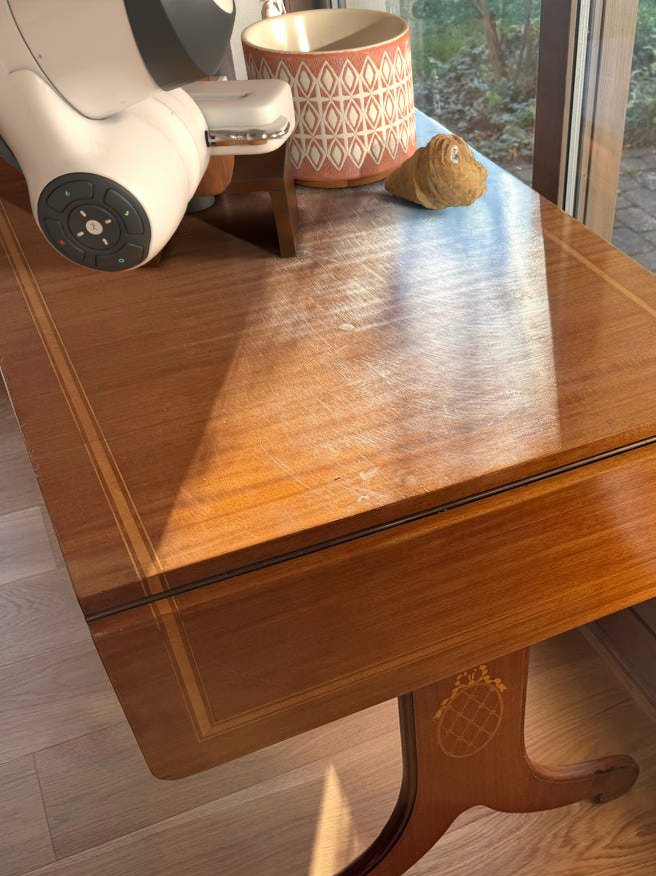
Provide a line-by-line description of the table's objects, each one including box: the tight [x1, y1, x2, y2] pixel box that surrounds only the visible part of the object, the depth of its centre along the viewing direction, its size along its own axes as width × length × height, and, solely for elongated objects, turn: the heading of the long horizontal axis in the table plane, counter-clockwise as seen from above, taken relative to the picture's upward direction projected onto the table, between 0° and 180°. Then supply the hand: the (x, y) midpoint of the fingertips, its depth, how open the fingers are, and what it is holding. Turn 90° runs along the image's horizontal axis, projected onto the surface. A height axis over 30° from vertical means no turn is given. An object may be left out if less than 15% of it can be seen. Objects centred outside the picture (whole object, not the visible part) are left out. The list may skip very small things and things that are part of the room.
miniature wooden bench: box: [142, 139, 300, 268], centre depth 103 cm, size 16×12×13 cm
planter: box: [240, 7, 418, 189], centre depth 117 cm, size 19×19×15 cm
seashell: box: [383, 132, 489, 211], centre depth 110 cm, size 14×8×8 cm
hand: (183, 87), depth 84 cm, fingers closed on wooden figurine, 5 cm apart
